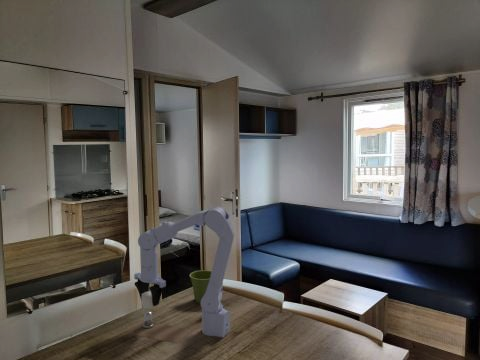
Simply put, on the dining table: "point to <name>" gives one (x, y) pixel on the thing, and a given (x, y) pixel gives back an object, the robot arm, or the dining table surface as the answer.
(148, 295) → the cap
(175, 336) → the post board
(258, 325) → the dining table surface
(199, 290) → the plant pot
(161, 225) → the robot arm
